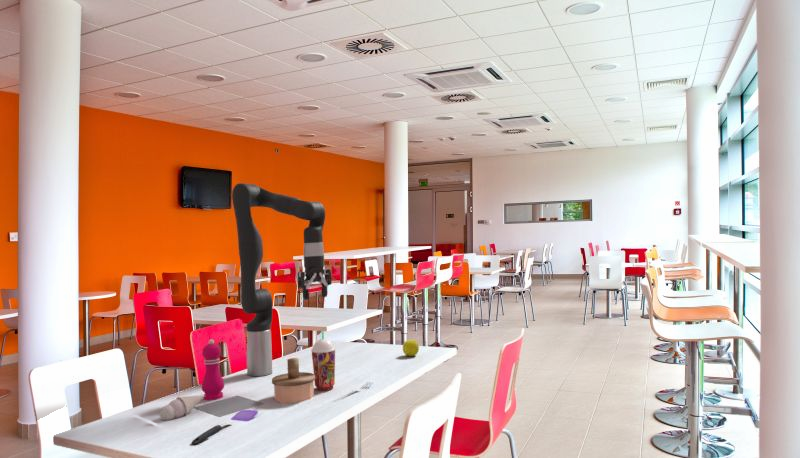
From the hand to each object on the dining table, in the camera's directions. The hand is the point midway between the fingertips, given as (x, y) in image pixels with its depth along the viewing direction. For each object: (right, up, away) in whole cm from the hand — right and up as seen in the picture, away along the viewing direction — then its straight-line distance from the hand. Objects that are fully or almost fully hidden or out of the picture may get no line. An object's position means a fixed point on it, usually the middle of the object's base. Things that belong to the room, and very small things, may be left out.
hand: (315, 298), depth 213 cm
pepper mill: (-31, -31, -22) cm, 49 cm away
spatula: (-18, -31, -54) cm, 65 cm away
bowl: (-3, -30, -26) cm, 40 cm away
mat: (-23, -31, -33) cm, 50 cm away
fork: (+15, -30, -24) cm, 41 cm away
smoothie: (+6, -30, -15) cm, 34 cm away
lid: (-3, -24, -26) cm, 35 cm away
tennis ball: (+36, -29, +33) cm, 57 cm away
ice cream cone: (-34, -31, -39) cm, 61 cm away
